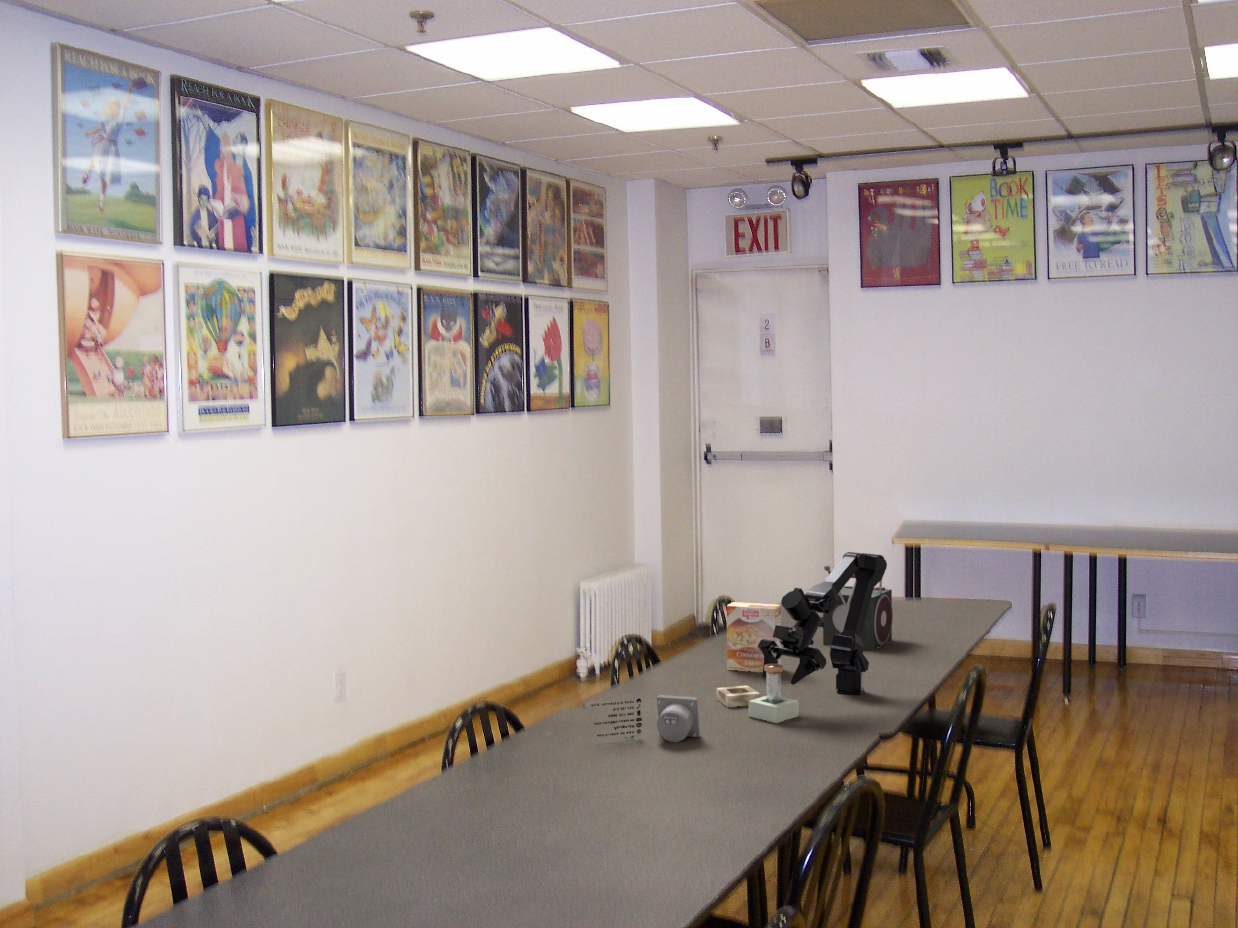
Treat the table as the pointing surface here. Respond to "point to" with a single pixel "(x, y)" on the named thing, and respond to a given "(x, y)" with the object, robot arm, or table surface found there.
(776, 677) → the lock pin
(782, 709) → the dock socket
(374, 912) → the table surface
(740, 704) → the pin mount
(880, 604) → the boombox
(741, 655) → the coffeecake box
